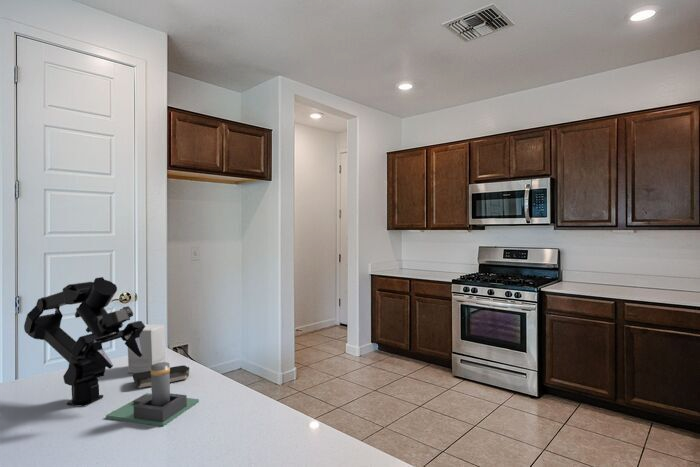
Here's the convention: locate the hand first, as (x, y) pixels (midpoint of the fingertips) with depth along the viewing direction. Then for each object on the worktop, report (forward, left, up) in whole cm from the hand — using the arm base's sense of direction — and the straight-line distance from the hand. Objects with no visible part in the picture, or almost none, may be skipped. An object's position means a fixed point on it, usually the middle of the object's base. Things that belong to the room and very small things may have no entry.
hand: (127, 361), depth 108 cm
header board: (+7, +2, -14) cm, 15 cm away
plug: (+11, 0, -13) cm, 17 cm away
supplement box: (-19, +28, -14) cm, 37 cm away
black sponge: (-6, +20, -14) cm, 25 cm away
